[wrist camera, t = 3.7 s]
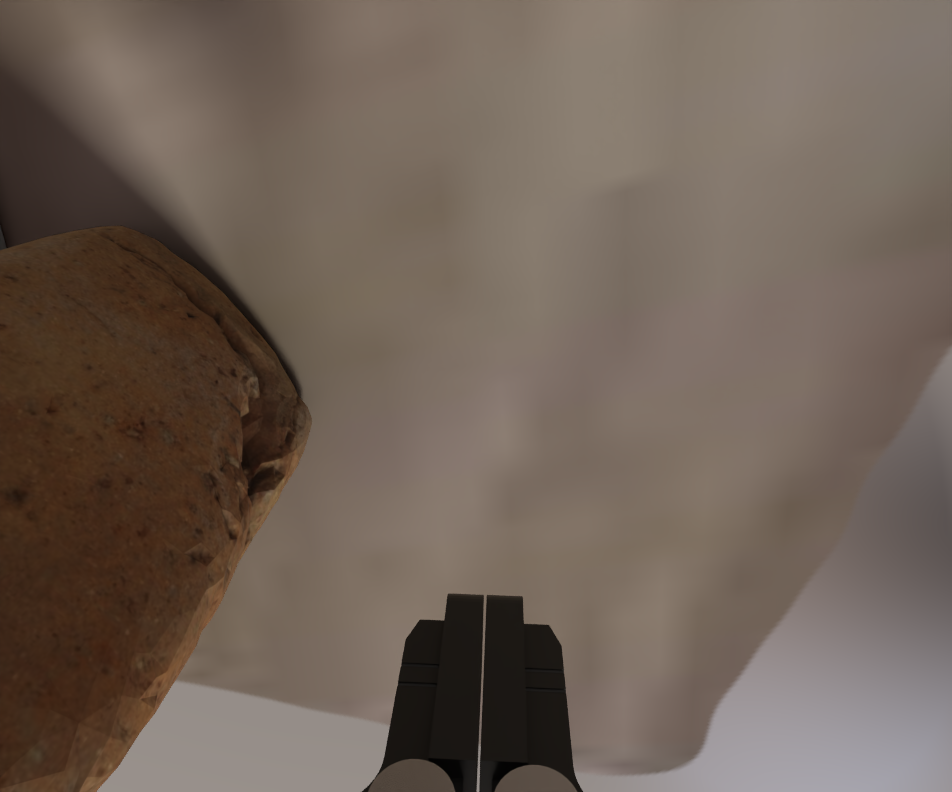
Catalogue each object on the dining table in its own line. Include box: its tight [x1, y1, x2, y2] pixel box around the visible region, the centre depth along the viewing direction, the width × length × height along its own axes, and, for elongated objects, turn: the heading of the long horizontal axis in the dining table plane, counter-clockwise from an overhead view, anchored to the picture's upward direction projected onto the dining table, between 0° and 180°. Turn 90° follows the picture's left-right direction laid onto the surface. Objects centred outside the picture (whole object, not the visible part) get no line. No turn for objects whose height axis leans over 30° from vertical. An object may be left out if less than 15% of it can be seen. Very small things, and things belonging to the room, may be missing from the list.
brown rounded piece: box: [0, 226, 312, 792], centre depth 16 cm, size 11×8×20 cm
